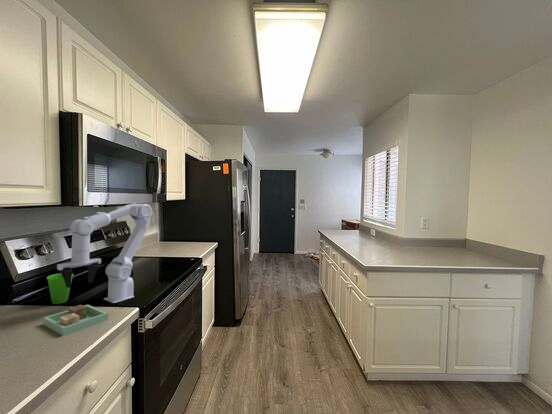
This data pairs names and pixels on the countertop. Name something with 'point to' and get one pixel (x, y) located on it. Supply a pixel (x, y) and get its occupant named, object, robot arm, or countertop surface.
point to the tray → (92, 318)
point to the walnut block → (79, 311)
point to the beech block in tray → (69, 319)
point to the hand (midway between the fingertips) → (79, 284)
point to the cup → (58, 288)
